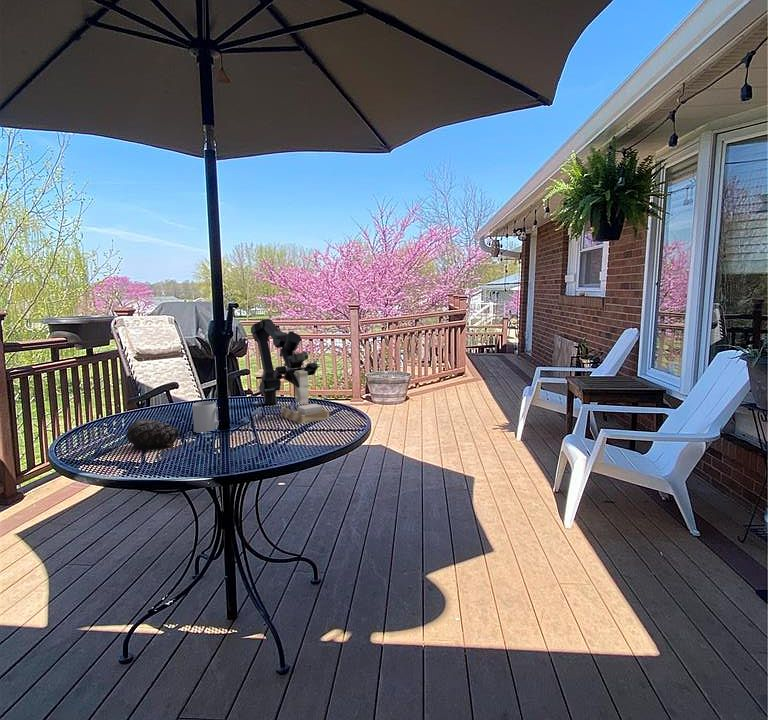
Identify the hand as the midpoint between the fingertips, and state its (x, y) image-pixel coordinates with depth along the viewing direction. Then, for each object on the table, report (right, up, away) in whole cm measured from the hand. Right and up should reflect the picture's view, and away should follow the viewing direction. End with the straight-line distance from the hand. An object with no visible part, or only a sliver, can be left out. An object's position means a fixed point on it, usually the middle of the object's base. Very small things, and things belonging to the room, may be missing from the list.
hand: (302, 386), depth 199 cm
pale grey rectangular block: (-1, -6, +2) cm, 7 cm away
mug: (-33, -17, -15) cm, 40 cm away
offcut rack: (+1, -13, +1) cm, 13 cm away
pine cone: (-46, -19, -32) cm, 59 cm away
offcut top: (+4, -10, -3) cm, 11 cm away
